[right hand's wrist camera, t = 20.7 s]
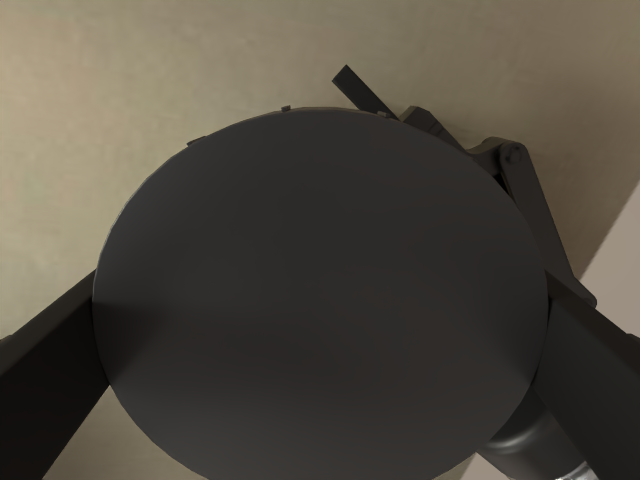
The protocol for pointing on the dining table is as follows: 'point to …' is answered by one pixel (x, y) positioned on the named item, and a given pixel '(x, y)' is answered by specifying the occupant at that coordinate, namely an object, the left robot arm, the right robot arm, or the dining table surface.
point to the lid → (320, 301)
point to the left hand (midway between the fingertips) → (254, 167)
